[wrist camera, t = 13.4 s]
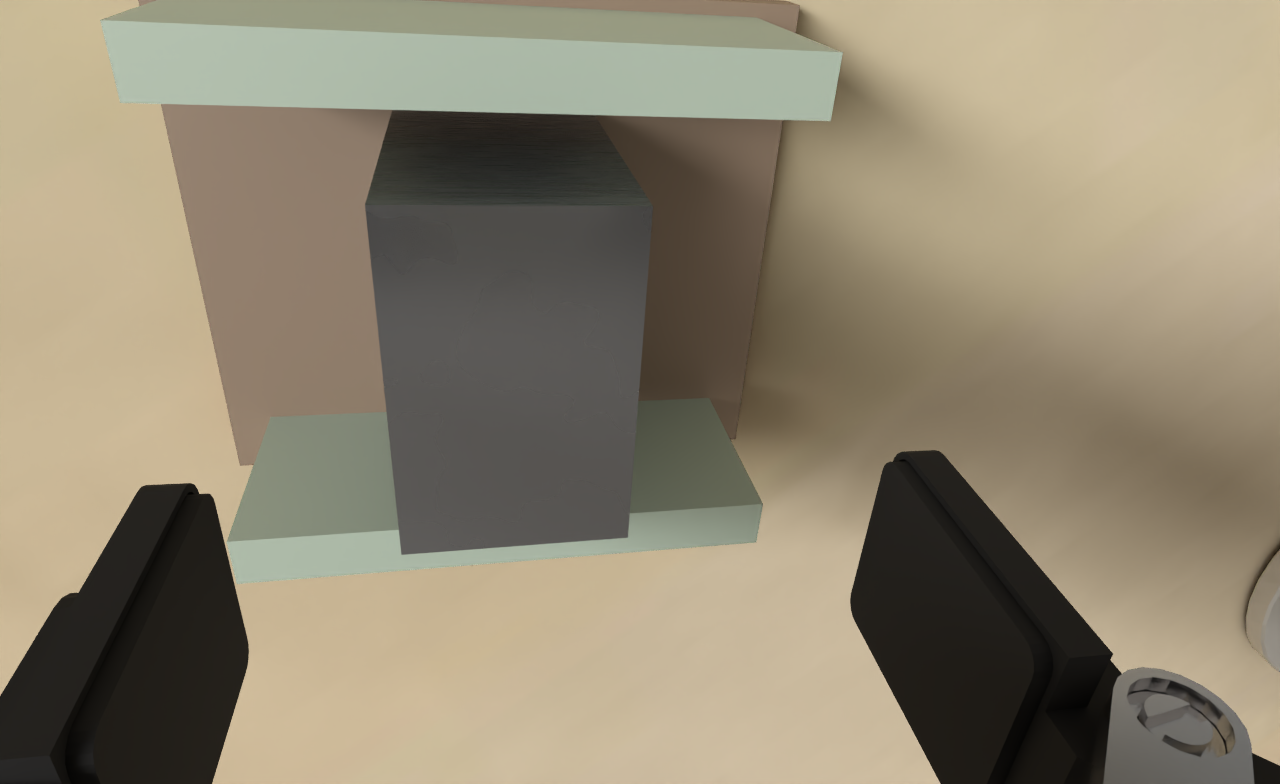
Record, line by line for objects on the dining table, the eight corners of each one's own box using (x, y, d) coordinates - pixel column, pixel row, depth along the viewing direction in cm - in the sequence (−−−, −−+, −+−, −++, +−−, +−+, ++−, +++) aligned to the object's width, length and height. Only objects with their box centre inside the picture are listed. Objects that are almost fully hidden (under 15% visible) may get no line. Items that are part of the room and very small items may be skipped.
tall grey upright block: (592, 111, 19) (653, 206, 13) (583, 372, 23) (627, 537, 17) (393, 106, 18) (364, 205, 13) (415, 378, 22) (401, 554, 16)
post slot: (784, 1, 20) (898, 36, 15) (726, 421, 26) (792, 548, 21) (147, -35, 17) (18, -6, 12) (248, 445, 23) (190, 598, 18)
